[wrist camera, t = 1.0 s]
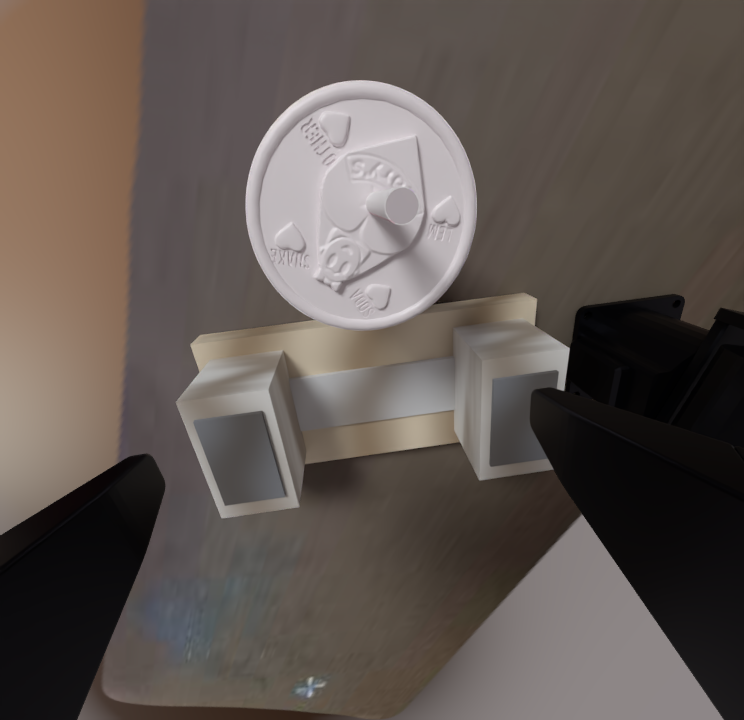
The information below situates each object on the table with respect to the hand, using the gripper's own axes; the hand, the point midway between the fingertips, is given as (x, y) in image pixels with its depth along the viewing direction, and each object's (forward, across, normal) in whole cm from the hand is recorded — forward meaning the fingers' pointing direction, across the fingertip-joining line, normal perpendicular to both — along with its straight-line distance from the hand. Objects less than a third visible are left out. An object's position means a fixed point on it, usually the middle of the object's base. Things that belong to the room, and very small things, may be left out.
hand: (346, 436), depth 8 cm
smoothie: (+13, -1, -4) cm, 14 cm away
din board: (+13, -1, +6) cm, 14 cm away
